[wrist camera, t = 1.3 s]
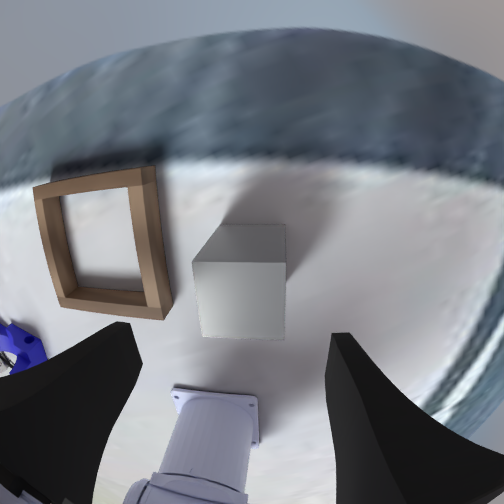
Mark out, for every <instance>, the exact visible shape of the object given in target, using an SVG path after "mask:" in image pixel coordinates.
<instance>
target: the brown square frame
mask: <svg viewBox="0 0 504 504" xmlns="http://www.w3.org/2000/svg"><path fill="white" fill-rule="evenodd" d="M122 187H128V194H129V203H130V211H131V218H132V225H133V232H134V239H135V245H136V251H137V256H138V262H139V267H140V273H141V278H142V283H143V287H144V292H137V291H123V290H111V289H99V288H88V287H78V284H77V280H76V277H75V273H74V269H73V265H72V261H71V257H70V253H69V248H68V244H67V239H66V234H65V229H64V224H63V218H62V212H61V206H60V199H59V196H63V195H69V194H76V193H83V192H90V191H97V190H105V189H114V188H122ZM33 194H34V201H35V208H36V214H37V219H38V225H39V230H40V235H41V239H42V244H43V248H44V252H45V256H46V260H47V264H48V268H49V271H50V275H51V278H52V282H53V285H54V288H55V291H56V295H57V298H58V301H59V304H60V307H64V308H70V309H76V310H82V311H89V312H96V313H103V314H110V315H118V316H126V317H135V318H144V319H154V320H164V319H165V318H166V316H167V314H168V313H169V311H170V310H171V308H172V307H173V301H172V296H171V290H170V284H169V278H168V272H167V266H166V259H165V252H164V245H163V238H162V230H161V222H160V213H159V204H158V194H157V184H156V172H155V166H146V167H138V168H130V169H123V170H116V171H109V172H103V173H97V174H91V175H85V176H80V177H75V178H69V179H64V180H59V181H55V182H50V183H46V184H43V185H39V186H36V187H33Z"/></svg>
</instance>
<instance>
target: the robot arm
mask: <svg viewBox="0 0 504 504" xmlns="http://www.w3.org/2000/svg"><path fill="white" fill-rule="evenodd" d="M142 365H143V363H142V360H141V357H140V354H139V351H138V347H137V344H136V341H135V338H134V335H133V331H132V328H131V325H130V323H125V322H118V321H117V322H115V323H112V324H110V325H109V326H107V327H105V328H103V329H101V330H100V331H98V332H96V333H95V334H93V335H91V336H90V337H88V338H86V339H84V340H83V341H81V342H79V343H78V344H76V345H74V346H73V347H71V348H69V349H67V350H65V351H64V352H62V353H60V354H58V355H56V356H54V357H53V358H51V359H49V360H47V361H44V362H42V363H40V364H38V365H36V366H33V367H31V368H28V369H26V370H23V371H20V372H17V373H14V374H11V375H8V376H4V377H0V504H50V503H51V504H92V499H93V492H94V487H95V482H96V477H97V472H98V469H99V465H100V462H101V458H102V455H103V452H104V449H105V446H106V443H107V440H108V437H109V435H110V433H111V431H112V428H113V426H114V424H115V422H116V421H117V419H118V417H119V415H120V413H121V411H122V409H123V407H124V406H125V404H126V402H127V400H128V398H129V396H130V394H131V392H132V390H133V388H134V386H135V384H136V382H137V379H138V376H139V374H140V371H141V368H142ZM325 390H326V403H327V409H328V414H329V420H330V426H331V432H332V438H333V444H334V450H335V459H336V504H487V503H489V502H490V501H491V500H493V499H494V498H496V497H497V496H498V495H500V494H501V493H502V492H504V455H503V454H500V453H498V452H495V451H492V450H490V449H487V448H485V447H482V446H480V445H477V444H475V443H473V442H471V441H469V440H468V439H466V438H464V437H462V436H460V435H458V434H456V433H455V432H453V431H451V430H450V429H448V428H447V427H445V426H444V425H442V424H441V423H439V422H438V421H436V420H435V419H433V418H432V417H430V416H429V415H428V414H426V413H425V412H424V411H423V410H421V409H420V408H419V407H418V406H417V405H415V404H414V403H413V402H412V401H411V400H409V399H408V398H407V397H406V396H405V395H404V394H403V393H402V392H401V391H400V390H399V389H398V388H397V387H396V386H395V385H394V384H393V383H392V382H391V381H390V380H389V379H388V378H387V377H386V376H385V375H384V373H383V372H382V371H381V370H380V369H379V368H378V367H377V366H376V364H375V363H374V362H373V361H372V360H371V358H370V357H369V356H368V355H367V354H366V352H365V351H364V350H363V349H362V347H361V346H360V345H359V344H358V342H357V341H356V340H355V338H354V337H353V336H352V335H351V334H350V333H332V335H331V342H330V348H329V354H328V360H327V366H326V372H325ZM171 395H172V398H173V401H174V404H175V407H176V409H177V412H178V415H179V417H178V419H177V422H176V425H175V428H174V430H173V433H172V436H171V439H170V441H169V444H168V447H167V450H166V452H165V455H164V458H163V461H162V463H161V466H160V469H159V472H158V473H156V472H153V474H152V477H151V480H148V479H145V478H143V479H141V480H140V481H137V482H135V483H134V484H133V485H132V486H131V487H130V489H129V491H128V492H127V494H126V497H125V499H124V501H123V504H248V503H247V501H248V494H244V491H245V484H246V477H247V470H248V463H249V456H250V449H251V448H252V449H256V448H259V426H258V399H257V398H256V397H255V396H250V395H234V394H222V393H212V392H203V391H194V390H187V389H180V388H172V390H171Z"/></svg>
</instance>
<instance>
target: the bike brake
mask: <svg viewBox="0 0 504 504" xmlns="http://www.w3.org/2000/svg"><path fill="white" fill-rule="evenodd" d="M0 352H1V353H2V351H0ZM1 353H0V358H1V359H2V360H3V361H4V363H3V362H2V360H1V359H0V361H1V362H2V363H1V362H0V363H1V365H0V373H2V372H4V371H5V370H7V368H8V367H10V368H13V367H14V366H13V365H11V364H10V363H9V362H8V361H7V359H6V357H5V356H4V354H3V353H2V354H1Z"/></svg>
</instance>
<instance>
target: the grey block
mask: <svg viewBox="0 0 504 504" xmlns="http://www.w3.org/2000/svg"><path fill="white" fill-rule="evenodd" d="M192 268H193V276H194V284H195V292H196V299H197V306H198V313H199V319H200V326H201V332H202V337H215V338H232V339H256V340H284V331H285V296H286V239H285V224H238V225H219V227H218V228H217V229H216V231H215V232H214V233H213V234H212V236H211V237H210V238H209V240H208V241H207V242H206V244H205V245H204V246H203V248H202V249H201V250H200V251H199V253H198V254H197V255H196V257H195V258H194V259H193V261H192Z"/></svg>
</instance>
